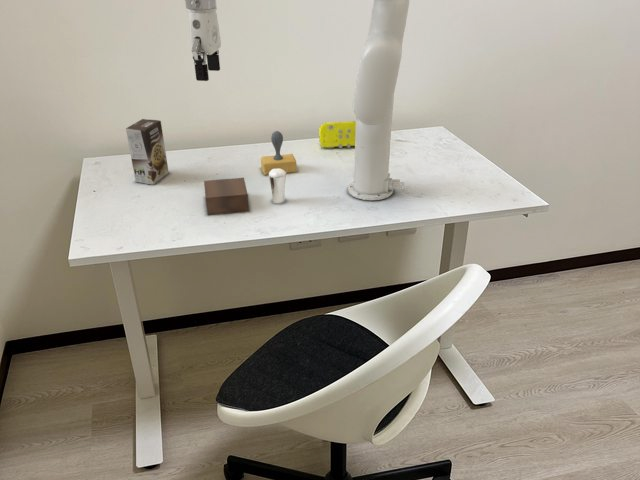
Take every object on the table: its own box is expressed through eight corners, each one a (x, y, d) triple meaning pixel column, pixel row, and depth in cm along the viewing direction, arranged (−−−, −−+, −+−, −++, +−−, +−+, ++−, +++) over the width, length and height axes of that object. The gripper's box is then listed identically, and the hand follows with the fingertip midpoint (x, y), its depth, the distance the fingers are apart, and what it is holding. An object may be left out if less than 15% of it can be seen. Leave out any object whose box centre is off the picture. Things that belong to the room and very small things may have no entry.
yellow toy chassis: (321, 150, 202) (321, 124, 197) (319, 143, 206) (319, 118, 202) (369, 147, 203) (370, 122, 198) (366, 141, 208) (367, 116, 203)
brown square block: (245, 194, 176) (243, 177, 173) (249, 211, 167) (247, 194, 164) (206, 197, 174) (203, 180, 171) (207, 215, 165) (205, 197, 162)
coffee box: (154, 185, 181) (144, 130, 171) (134, 182, 183) (124, 128, 173) (170, 173, 188) (161, 120, 178) (151, 170, 189) (142, 117, 180)
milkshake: (287, 205, 169) (286, 170, 163) (268, 204, 170) (266, 169, 164) (291, 198, 173) (290, 164, 167) (272, 196, 174) (270, 162, 168)
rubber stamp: (264, 175, 186) (261, 136, 179) (261, 168, 190) (258, 129, 183) (296, 172, 188) (295, 133, 180) (293, 165, 192) (291, 126, 185)
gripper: (204, 10, 146) (212, 85, 157) (225, -3, 160) (231, 67, 170) (173, 9, 147) (183, 84, 158) (197, -3, 161) (205, 66, 171)
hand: (208, 75), depth 164 cm, fingers open, 9 cm apart
